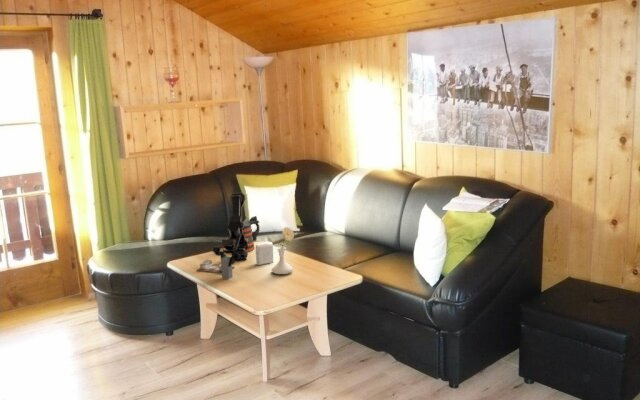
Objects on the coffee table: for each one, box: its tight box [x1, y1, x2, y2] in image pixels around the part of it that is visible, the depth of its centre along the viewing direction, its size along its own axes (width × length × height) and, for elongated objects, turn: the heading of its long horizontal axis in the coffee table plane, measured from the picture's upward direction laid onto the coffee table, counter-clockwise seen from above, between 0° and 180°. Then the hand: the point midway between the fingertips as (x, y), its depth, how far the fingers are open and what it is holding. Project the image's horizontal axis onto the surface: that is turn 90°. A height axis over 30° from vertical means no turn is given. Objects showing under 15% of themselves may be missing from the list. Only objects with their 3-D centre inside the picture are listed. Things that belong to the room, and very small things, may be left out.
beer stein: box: [242, 215, 260, 253], centre depth 364 cm, size 19×15×20 cm
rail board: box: [196, 259, 235, 274], centre depth 328 cm, size 18×10×4 cm, turn 70°
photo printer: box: [255, 241, 274, 266], centre depth 336 cm, size 10×4×12 cm, turn 123°
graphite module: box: [220, 255, 233, 280], centre depth 313 cm, size 4×4×11 cm
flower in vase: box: [271, 226, 295, 275], centre depth 318 cm, size 13×11×25 cm
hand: (225, 266), depth 312 cm, fingers closed on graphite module, 4 cm apart
